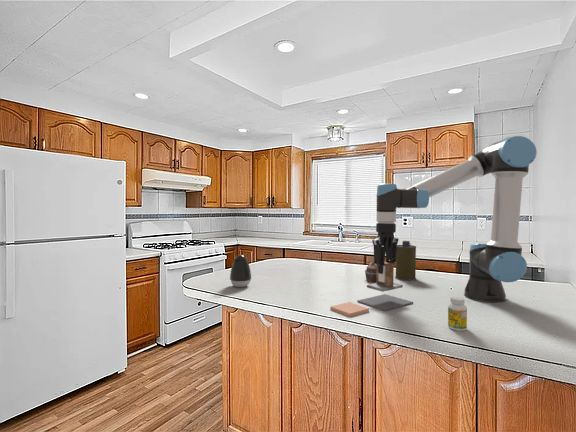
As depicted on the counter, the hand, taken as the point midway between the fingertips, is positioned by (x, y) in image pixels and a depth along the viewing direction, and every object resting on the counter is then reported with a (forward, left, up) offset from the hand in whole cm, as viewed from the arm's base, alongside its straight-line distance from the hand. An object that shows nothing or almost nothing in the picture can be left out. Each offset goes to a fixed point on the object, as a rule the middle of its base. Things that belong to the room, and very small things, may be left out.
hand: (384, 280), depth 133 cm
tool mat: (0, 0, -9) cm, 9 cm away
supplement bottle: (-31, +3, -9) cm, 32 cm away
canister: (+23, -45, -9) cm, 51 cm away
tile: (+1, +14, -8) cm, 16 cm away
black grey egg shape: (+57, +36, -9) cm, 68 cm away
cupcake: (+29, -27, -9) cm, 41 cm away
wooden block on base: (0, 0, -3) cm, 3 cm away
